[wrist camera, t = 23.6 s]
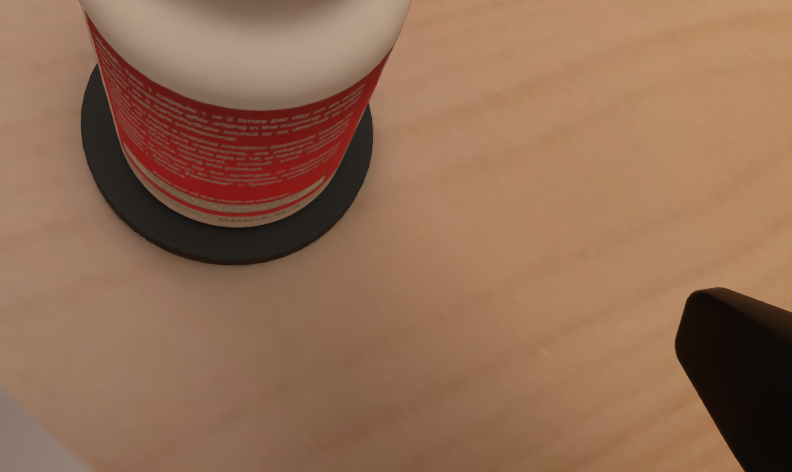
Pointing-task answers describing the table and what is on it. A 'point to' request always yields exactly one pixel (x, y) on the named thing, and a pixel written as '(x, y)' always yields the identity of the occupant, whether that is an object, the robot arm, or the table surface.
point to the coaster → (202, 237)
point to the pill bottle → (239, 96)
